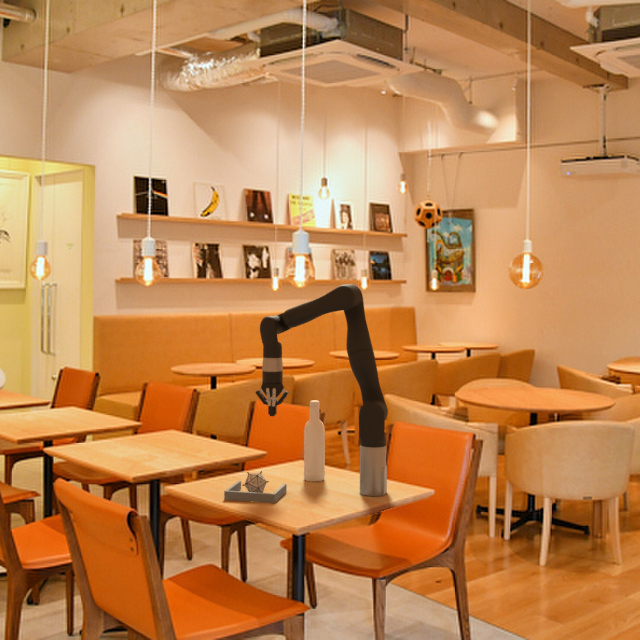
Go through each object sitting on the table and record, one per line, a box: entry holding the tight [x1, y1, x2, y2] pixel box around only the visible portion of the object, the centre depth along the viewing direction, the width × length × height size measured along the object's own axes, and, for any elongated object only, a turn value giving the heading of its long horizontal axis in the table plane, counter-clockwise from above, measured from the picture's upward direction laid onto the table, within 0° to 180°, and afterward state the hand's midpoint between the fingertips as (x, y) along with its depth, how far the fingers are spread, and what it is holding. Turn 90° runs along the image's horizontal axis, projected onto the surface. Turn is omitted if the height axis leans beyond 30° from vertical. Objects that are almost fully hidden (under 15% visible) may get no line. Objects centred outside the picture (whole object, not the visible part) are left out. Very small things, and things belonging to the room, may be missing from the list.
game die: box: [241, 470, 269, 493], centre depth 296 cm, size 9×8×10 cm
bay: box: [223, 480, 288, 504], centre depth 294 cm, size 18×15×3 cm
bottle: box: [303, 399, 326, 482], centre depth 318 cm, size 8×8×30 cm
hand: (272, 416), depth 312 cm, fingers closed
